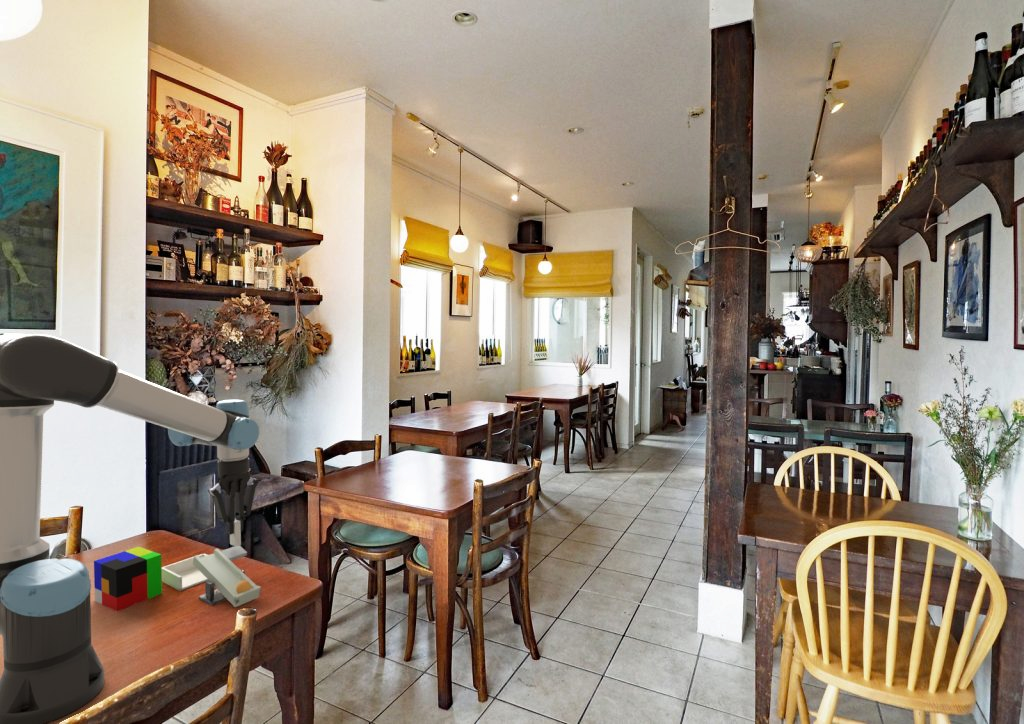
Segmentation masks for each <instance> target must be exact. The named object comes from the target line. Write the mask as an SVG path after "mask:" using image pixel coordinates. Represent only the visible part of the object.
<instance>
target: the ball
mask: <svg viewBox="0 0 1024 724" xmlns="http://www.w3.org/2000/svg"><path fill="white" fill-rule="evenodd" d="M250 589H251V584H250V582H248V581H246V580H244V581H241V582H239V583H238V585H237V587H236V591H237V593H238V594H240V593H242V592H245V591H247V590H250Z"/></svg>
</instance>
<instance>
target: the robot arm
mask: <svg viewBox="0 0 1024 724" xmlns="http://www.w3.org/2000/svg"><path fill="white" fill-rule="evenodd" d="M118 366H119V365H118V364H117V362H115V361H113V360H111V359H108V358H106V357H104V356H102V355H100V354H97V353H95V352H93V351H91V350H88V349H86V348H83V347H81V346H79V345H77V344H75V343H72V342H71V341H68V340H65V339H63V338H59V337H57V336H52V335H49V334H42V333H39V334H38V333H33V334H28V333H13V332H10V333H9V332H6V333H5V332H3V333H0V636H1V637H2V649H3V672H2V674H1V677H0V724H46V723H50V722H52V721H55V720H57V719H60V718H61V717H64V716H65V717H66V716H67V715H69V714H71V713H73V712H75V711H76V710H78V709H80V708H81V707H83V706H84V705H86V704H87V703H89V702H90V701H91V700H93V699H94V698H95V697H96V696H97V695H98V694H99V693H100V692H101V691H102V690H103V687H104V685H105V670H104V669H105V668H104V666H103V664H102V662H101V661H100V658H99V656H98V654H97V652H96V650H95V648H94V646H93V644H92V624H91V623H92V616H91V615H92V614H91V611H92V607H91V589H92V580H91V579H90V573H89V569H88V567H87V566H86V564H84V563H83V562H82V561H80V560H78V559H74V558H73V559H72V558H67V557H66V558H63V557H62V558H61V559H58V558H57V557H56V558H55V557H54V558H50V554H51V553H50V551H51V549H50V543H49V542H47V541H46V540H45V539H42V538H41V536H40V535H41V534H40V530H41V529H40V528H41V526H40V525H41V504H42V503H41V501H42V500H41V499H42V498H41V497H42V468H43V467H42V466H43V465H42V464H43V441H44V440H43V439H44V436H43V433H44V414H46V412H47V411H48V410H50V409H51V408H52V407H53V406H54V405H55V402H62V403H67V404H71V405H77V406H79V407H82V408H87V409H89V408H94V407H101V408H104V409H108V410H110V411H114V412H116V413H119V414H123V415H124V416H125V415H126V416H128V417H132V418H135V419H138V420H141V421H144V422H146V423H151V424H153V425H157V426H159V427H162V428H165V429H167V433H168V434H167V435H168V438H169V440H170V442H171V443H172V444H173V445H175V446H177V447H185V446H188V447H189V446H191V445H204V446H212V447H217V450H216V451H217V452H216V453H217V454H216V455H217V456H216V457H217V459H218V460H217V475H218V478H217V480H216V484H215V485H214V486H213V487H209V488H208V489H207V492H208V493H209V494H210V496H211V498H212V501H213V504H214V505H213V506H214V507H215V512H216V515H217V518H218V521H220V522H223V523H225V524H226V533H227V535H229V544H230V545H231V546H232V547H234V546H238V545H240V546H241V545H242V540H241V539H242V535H241V533H242V532H243V531H244V521H245V520H246V518H247V516H250V515H251V511H252V506H253V502H254V496H255V493H256V488H257V486H258V484H259V482H260V480H259V479H258V478H255V477H252V476H251V474H250V458H249V457H248V456H249V455H250V448H252V447H254V445H255V444H256V443H257V442H258V439H259V436H260V426H259V424H258V423H257V421H255V420H254V419H252V418H250V413H249V404H248V402H247V401H246V400H243V399H224V400H219V401H218V402H216V407H214V406H211V405H209V404H206V403H205V402H204V403H203V402H201V401H199V400H196V399H194V398H191V397H188V396H186V395H184V394H181V393H179V392H176V391H175V390H174V391H173V390H171V389H169V388H166V387H164V386H161V385H159V384H157V383H154V382H151V381H148V380H146V379H144V378H141V377H140V376H136V375H134V374H131V373H128V372H126V371H123V370H122V369H119V367H118ZM221 492H223V496H224V500H223V497H222V495H221Z"/></svg>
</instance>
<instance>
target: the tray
mask: <svg viewBox="0 0 1024 724" xmlns="http://www.w3.org/2000/svg"><path fill="white" fill-rule="evenodd" d="M197 555H198V556H199V557H200V558H201V557H204V556H207V555H208V553H207V554H206V553H205V552H204V553H201V554H197ZM193 559H194V556H192V557H188V558H185V559H183V560H180V561H177V562H174V563H171V564H168V565H164V566H161V568H162V583H164V584H165V585H168V586H170V587H172V588H174V589H175V590H177V591H179V592H182V591H184V590H186V589H190V588H191V587H195V586H197V585H199V584H200V585H201V584H202V583H205V582H207V581H209V580H208V579H207V578H206V577H205V576H204V575H203V574H202V573H201V572H200V571H199V570H198V569H197V568H196V566H195V565H194V564H193Z"/></svg>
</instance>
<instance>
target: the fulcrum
mask: <svg viewBox="0 0 1024 724" xmlns="http://www.w3.org/2000/svg"><path fill="white" fill-rule="evenodd" d="M239 569H240V570H241V571H242V572H243V573H244V574H245V575H246V573H245V572H246V571H245V570H243V569H241V568H239ZM204 583H205V590H204V591H205V593H204V594H202V595H200V596H198V600H200V601H202V602H204V603H206V604H207V605H210V606H211V607H212V606H214V605H217V604H221V603H222V602H225V601H228V600H227V598H226V597H225V596H224V595H223V594H222V593H221V592H220V591H219V590H218V589H217V588H216V589H215V586H214V582H212V581H209V580H208V581H205V582H204Z"/></svg>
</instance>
